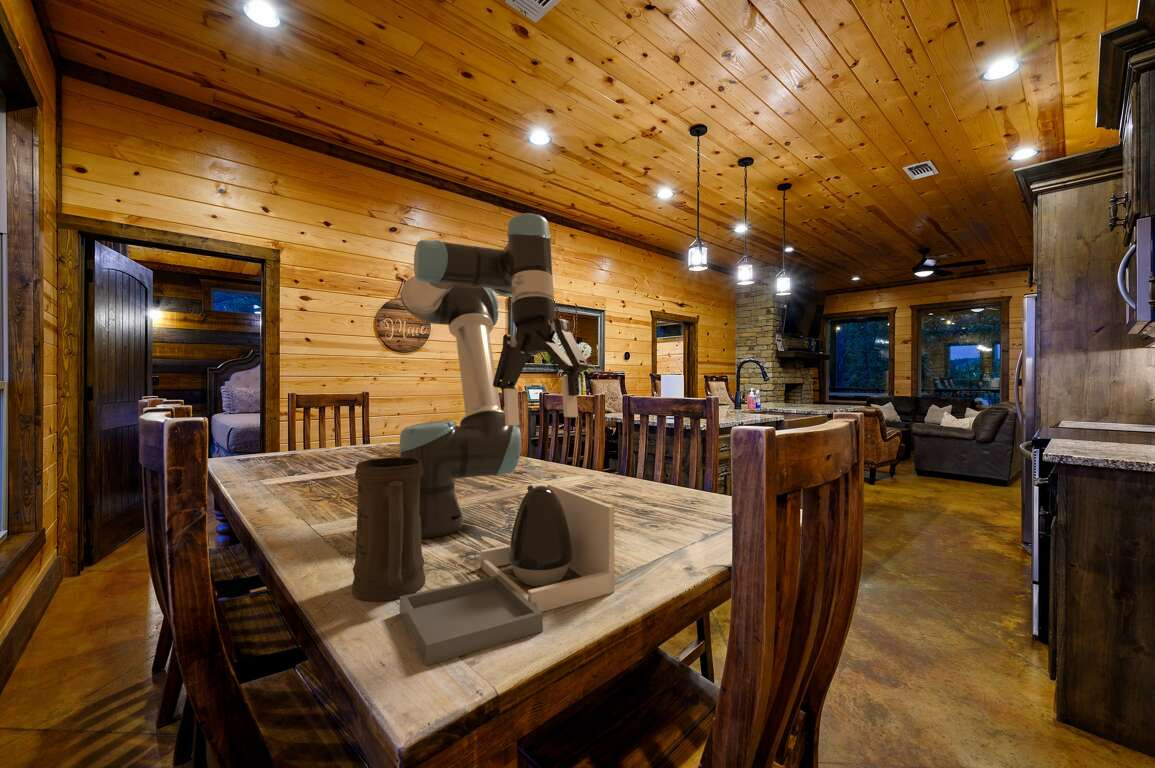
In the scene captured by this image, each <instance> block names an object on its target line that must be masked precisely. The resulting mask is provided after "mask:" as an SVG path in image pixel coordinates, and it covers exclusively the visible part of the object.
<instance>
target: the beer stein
mask: <svg viewBox="0 0 1155 768" xmlns="http://www.w3.org/2000/svg"><path fill="white" fill-rule="evenodd" d="M423 473H424V470H423V465H422V461H421V460H419V459H416V458H406V457H400V456H396V457H395V456H394V457H381V458H380V457H379V458H371V459H367V460H362V461H360V462H357V464H356V467H355V471H354V478H355V479H356V480H357V501H356V502H357V503H356V504H357V505H356V536H355V554H354V555H355V558H354V564H353V568H352V572H353V573H352V574H353V581H352V584H351V585H352V586H351V594H352V595H353V596H354V597H355V598H357V599H359V600H363V601H368V602H383V601H393V600H397V599H400V596H405V595H409V594H414V593H417V592H418V591H419V590H421V589H422V588H423V587H424V586H425V584H426V581H427V580H426V574H425V570H424V566H425V559H424V556H423V550H422V549H423V548H422V538H421V518H420V515H419V502H420V478H421V476H422V475H423Z"/></svg>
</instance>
